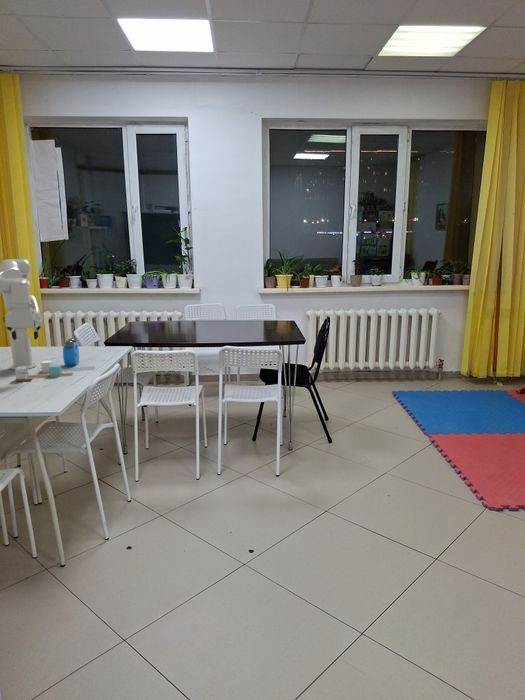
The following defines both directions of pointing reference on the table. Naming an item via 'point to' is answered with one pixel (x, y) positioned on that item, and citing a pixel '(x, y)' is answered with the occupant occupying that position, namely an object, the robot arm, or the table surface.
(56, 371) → the teal cube
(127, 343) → the table surface
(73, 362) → the alarm clock
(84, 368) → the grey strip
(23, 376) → the walnut strip
